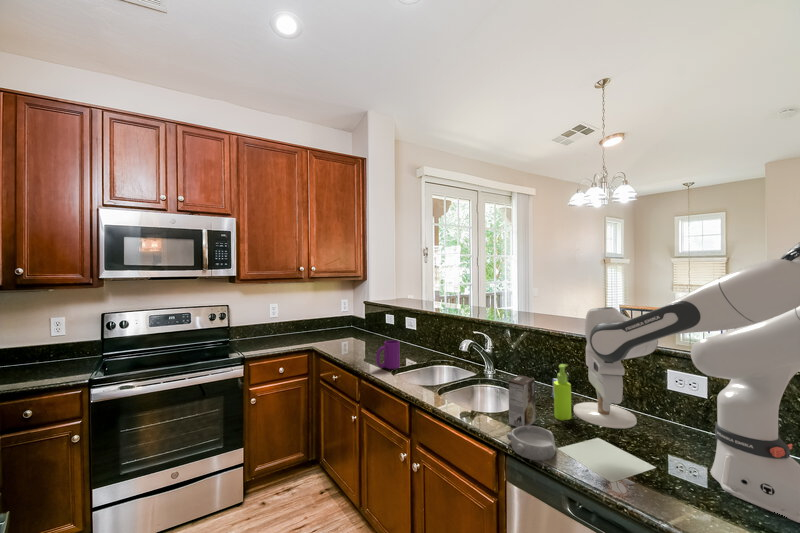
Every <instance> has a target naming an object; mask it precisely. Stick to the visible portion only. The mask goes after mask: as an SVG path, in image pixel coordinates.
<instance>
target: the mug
mask: <svg viewBox="0 0 800 533" xmlns="http://www.w3.org/2000/svg"><path fill="white" fill-rule="evenodd" d="M400 349H401V348H400V341H399V340H395V339H394V340H393V339H392V340H391V339H389V340H385V341H384V343H383V346H380V347H379V348H378V349H377V352H376V356H375V360H376V361H375V362H376V366H378V367H379V368H385V369H387V370H397V369H400V367H401V364H400V358H401V357H400V356H401V355H400V352H401V351H400ZM382 350H383V357H384V358H383V363H381V360H380V355H381V351H382Z"/></svg>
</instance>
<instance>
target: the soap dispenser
mask: <svg viewBox="0 0 800 533" xmlns="http://www.w3.org/2000/svg"><path fill="white" fill-rule="evenodd" d="M568 366H569V364H567V363H565V364H564V363H560V364H559V365H558V368H559V372H558V373H557V377H556V378H557V379H558V381H555V382H554V398H553V403H554V405H553V406H554V407H553V408H554V412H553V414H554V418H555V419H557V420H558V421H567V420H572V384H571V383H570V382H568V374H567V373H566V372H565V371H566V370H565V368H566V367H568Z"/></svg>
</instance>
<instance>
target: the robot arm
mask: <svg viewBox="0 0 800 533" xmlns="http://www.w3.org/2000/svg"><path fill="white" fill-rule="evenodd" d="M584 323H585V324H584V335H585V340H586V345H585V365H586V366H587V367H588V372H587V373H588V376H587V377H588V381H589V383H590V384H591V385H592V387H593V388H595V393H596V396H597V398H598V397H602V399H603V403H602V409H603V410H604V411H610V405H612V404H617V405H618V404H619V405H620V404H621V403H622V401H623V394H624V393H623V392H624V390H623V388H624V383H623V382H624V381H623V379H624V378H623V376H625V373H626V372H625V370H626V369H625V367H624V365H623V364H622V361H623V360H627V359H633V358H634V359H635V358H639V357H644V356H648V355H650V354H652V353H655V351H656V350H657V348H658V344H659V339H660V340H661V339H662V338H666V337H670V336H674V335H681V334H689V333H690V334H691V333H706V332H707V333H708V332H719V331H720V332H721V331H725V332H722V333H719V334H717V335H713V336H709V337H706V338H701V339H699V340H697V341H695V342H694V343H693V344H692V345H691V349H690V358H691V361H692V363H693V365H694V367H695V368H696V369H697V370H698V371H700V373H702V374H703V375H706V376H708V377H714V378H718V379H725V380H730V381H729V383H728V384H727V385H726V386H725V387H724V388H723V389H722V390H720V391H719V393H718V394H717V397H716V404H717V405H716V406H717V408H716V412H717V418H716V419H717V421H716V422H715V430H714V434H715V443H716V450H715V456H714V461H713V463H712V467H711V469H710V474H711V476H712V477H713V478H714V480H716V481H717V482H718V483H719V484H720V487H721V488H722V490H724V491H725V492H727V493H729V494H730V495H731V496H733V497H736V498H738V499H741V500H743V501H745V502H747V503H751V504H752V505H755V506H757V507H760V508H762V509H765V510H766V511H770V512H772V513H774V512H775V513H774V514H777V513H778V514H777V515H779V514H780V515H779V516H781V515H783V516H782V517H784V516H785V517H784V518H786V517H787V518H786V519H789V520H791V521H793V522H796V523H799V524H800V463H799V462H797V460H795V459H794V458H793V457H792V456H790V455H791V450H792V449H793V444H792V443H789V444H787V443H785V442H784V441H783V440H782V439H781V437H780V436H779V412H780V411H779V410H780V404H781V400H782V397H783V395H784V392H785V391H786V388H787V386H788V384H789V382H790V381H791V380H792V378H793V377H794V376H795V375H796V374H797V373H799V372H800V242H797V244H795V245H793V246H792V248H790V249H789V250H788V251H787V252H786V253H785V254H783V255H782V256H781V257H780V258H779V259H778V258H775V259H770V260H766V261H762V262H759V263H756V264H752V265H748V266H745V267H743V268H739V269H737V270H734V271H731V272H729V273H727V274H724V275H721V276H719V277H718V278H715V279H713V280H711V281H708V282H707V283H705V284H703V285H701V286H699V287H697V288H695V289H692V291H690V292H688V293H686V294H684V295H682V296H680V297H679V298H676V299H674V300H673V301H671V302H668V303H667V304H665V305H662V306H661V307H658V308H657V309H654V310H651V311H649V312H645V313H644V314H640V315H637V316H636V317H633V318H630V317H628V316H626V315H625V314H623V313H622V312H620V311H619V310H618V309H616V308H615V307H612V306H610V307H609V306H607V307H595V308H591V309H589V310H588V311H587V313H586V316H585V322H584Z"/></svg>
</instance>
